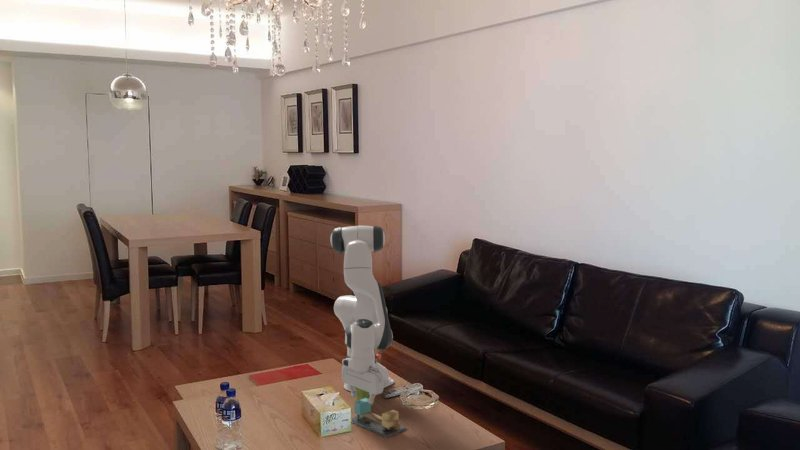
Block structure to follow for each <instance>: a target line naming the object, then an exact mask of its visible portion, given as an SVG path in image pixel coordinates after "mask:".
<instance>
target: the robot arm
mask: <svg viewBox="0 0 800 450" xmlns="http://www.w3.org/2000/svg"><path fill="white" fill-rule="evenodd" d="M329 238H330V239H329V240H330V241H329V242H330V245H331V247H332V248H331V249H332V250H333V251H334V252H335V253H338V254H339V255H341V256H342V255H343V253H344V255H343V256H344V257H343V278H344V283H345V285H346V286H347V287H348V288H349V289H350V290H351V291H352V292H353V294H354V295H350V294H349V295H341V296H339V297H337V299H336V300H335V301H334V304H333V312H334V315H335V316H336V317H337V318H338V320H339V321H340V323H341V324H342V327H343V330H344V345H345V346H346V348H347V349H346V350H347V353H346V358H343V359H342V361H341V364H342V367H341V380H342V382H343V388H344V390H346V391H349V392H350V397H352V398H357V392H356V389H355V387H356V388H359V389H362V390H364V391H367V392H369V395H370V397H369V398H368V399H367V403H369V404H373V399H374V400H375V397H376V396H378V395H381V394H383V392H384V389H385V388H387V387H389V386H391V385H393V384H394V383H395V381H394V379H393V378H391V377H390V375H389V371H388V369H387V368H386V366H384V365H382V364H381V363H379V362H378V361H377V360H380V359H381V358H382V355H381V354H379V353H376V354H375V350H386V349H388V348H389V347H391V345H392V343H393V338H394V336H393V331H392V329H391V324H390V319H389V316H388V308H387V306H386V305H387V304H386V300H385V294H384V292H383V291H384V290H383V288H382V285H381V283H380V282H379V281H377V280H376V278H375V276H374V273H373V256H372V255H373V254H372V252H374V254H375V253H377V252H380V251H382V249H384V246H385V243H386V235H385V232H384V229H383V228H382V227H381V226H379V225H372V226H371V225H352V226H351V225H349V226H343V227H342V226H339V227H335V228H334V229H332V231H331V234H330V237H329Z"/></svg>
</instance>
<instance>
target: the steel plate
mask: <svg viewBox="0 0 800 450" xmlns="http://www.w3.org/2000/svg"><path fill="white" fill-rule="evenodd" d="M377 415H378V414H377ZM378 416H380V415H378ZM351 418H352V422H353V423H352V422H351V423H352V424H353V425H356V424H357V425H356V426H358V427H361V428H363V429H364V430H368V431H369V432H371V433H372V432H373V433H374V434H376V435H378V436H381V437H383V438H385V439H387V438H389V437H392V436H395V435H397V434H399V433H402V432H405V431H407V426H404V425H402V424H400V425H401V429H399V430H395V429H392V428H387V431H385V427H383V426H382V424H381V423H378V422H376V421H374V420H371V419H369V418H367V417H364V416H362V415H359V418H357V416H354V417H351Z"/></svg>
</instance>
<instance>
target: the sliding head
mask: <svg viewBox="0 0 800 450" xmlns="http://www.w3.org/2000/svg"><path fill="white" fill-rule="evenodd" d="M368 412H371V413H372V407H371V404H369V403H367V398H364V399H361V400H355V401H354V414H355V415H356V417H357V418H359V415H363V414H366V413H368Z"/></svg>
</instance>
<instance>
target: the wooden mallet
mask: <svg viewBox="0 0 800 450" xmlns="http://www.w3.org/2000/svg"><path fill="white" fill-rule="evenodd" d="M362 416H364V417H367V418H369V419H371V420H374V421H376V422H378V423H381V424H382V426H383V427H385V431H387V428H392V429H395V430H399V429H401V425H402V424H400V423H399V422H400V421H399V419H400V418H399V417H400V416H399V411H397V410H395V409H392V410H388V411H386V412H383V413H381V416H380V415H379V416H378V414H376V413H373V412H372V411H371V412H368V413H366V414H363V415H362Z"/></svg>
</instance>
